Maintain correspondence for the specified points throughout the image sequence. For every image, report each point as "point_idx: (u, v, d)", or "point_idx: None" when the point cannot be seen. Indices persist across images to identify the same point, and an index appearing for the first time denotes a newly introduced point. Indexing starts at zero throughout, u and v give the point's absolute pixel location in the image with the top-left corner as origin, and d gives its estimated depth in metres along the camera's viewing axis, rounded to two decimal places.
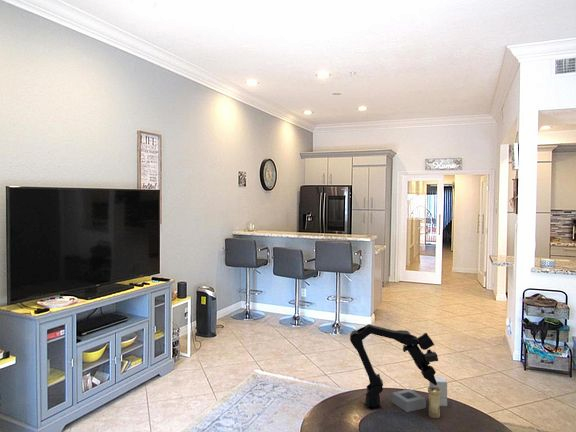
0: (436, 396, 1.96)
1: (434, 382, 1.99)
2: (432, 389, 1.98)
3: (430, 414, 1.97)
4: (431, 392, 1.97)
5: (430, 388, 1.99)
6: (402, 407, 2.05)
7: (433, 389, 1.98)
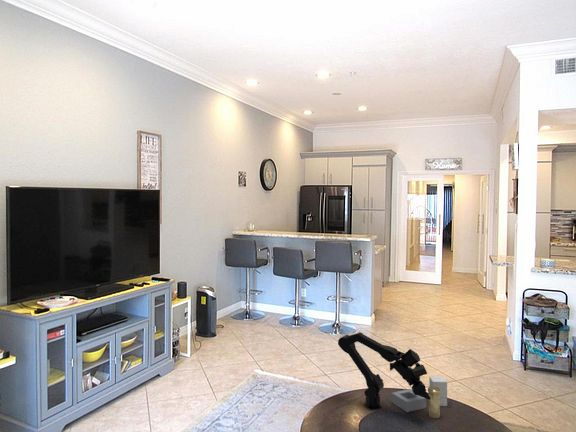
0: (436, 396, 1.96)
1: (427, 396, 1.94)
2: (432, 389, 1.98)
3: (430, 414, 1.97)
4: (431, 392, 1.97)
5: (430, 388, 1.99)
6: (402, 407, 2.05)
7: (433, 389, 1.98)
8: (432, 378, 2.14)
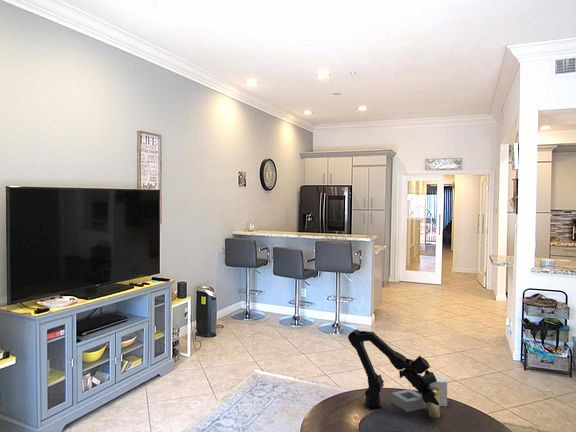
0: (436, 396, 1.96)
1: (436, 402, 1.95)
2: (432, 389, 1.98)
3: (430, 414, 1.97)
4: None
5: (430, 388, 1.99)
6: (402, 407, 2.05)
7: (433, 389, 1.98)
8: None
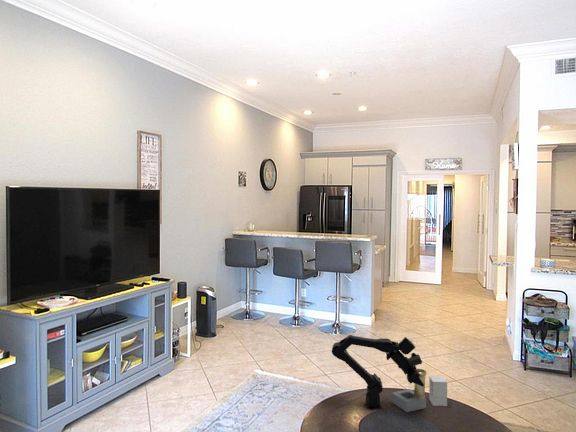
0: (421, 377, 2.02)
1: (421, 384, 2.01)
2: (418, 371, 2.04)
3: (415, 395, 2.03)
4: None
5: None
6: (402, 407, 2.05)
7: (419, 371, 2.04)
8: (432, 378, 2.14)
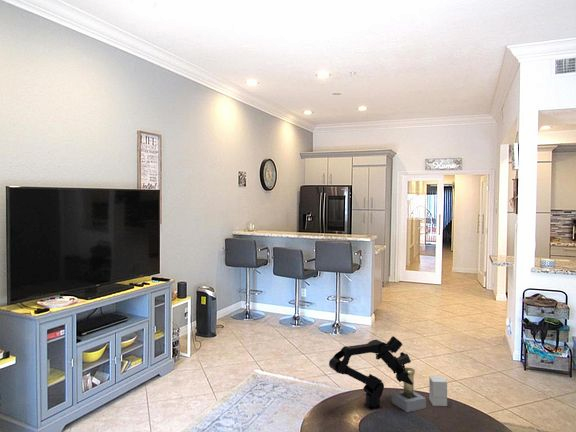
0: (410, 376, 2.07)
1: (409, 382, 2.06)
2: (407, 370, 2.09)
3: (404, 393, 2.09)
4: None
5: (405, 369, 2.10)
6: (402, 407, 2.05)
7: (407, 370, 2.09)
8: (432, 378, 2.14)
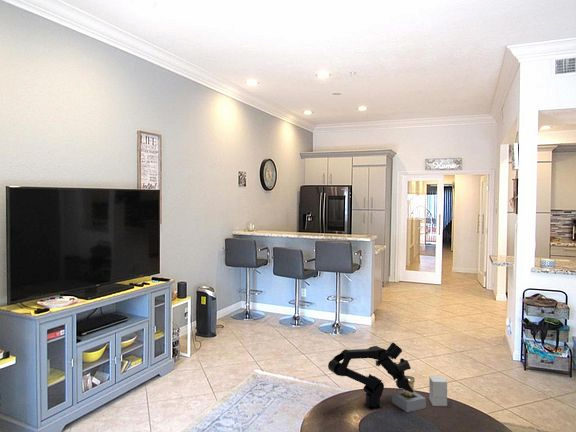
0: (409, 384, 2.07)
1: (410, 390, 2.05)
2: None
3: None
4: None
5: None
6: (402, 407, 2.05)
7: None
8: (432, 378, 2.14)
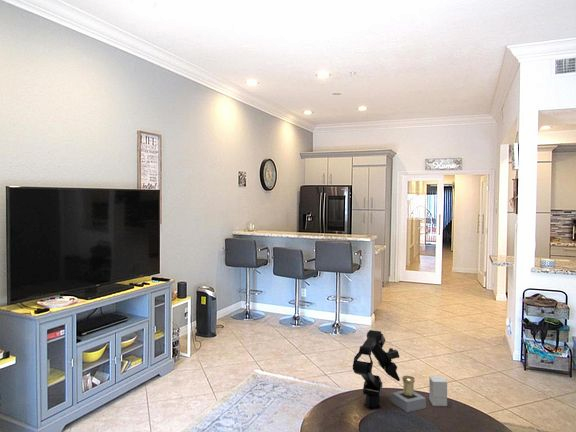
0: (409, 384, 2.07)
1: (397, 378, 2.06)
2: (406, 378, 2.09)
3: None
4: (405, 381, 2.08)
5: (404, 377, 2.10)
6: (402, 407, 2.05)
7: (407, 378, 2.09)
8: (432, 378, 2.14)
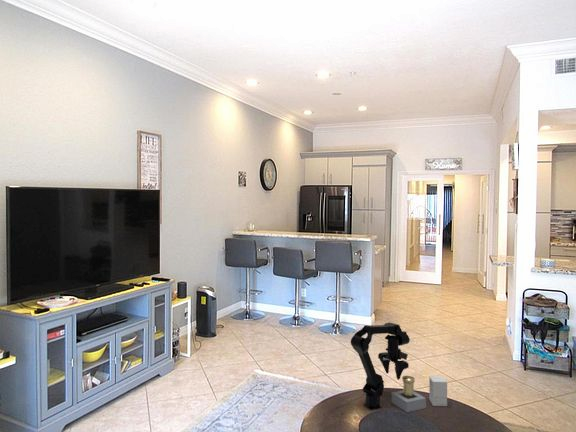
0: (409, 384, 2.07)
1: (399, 376, 2.12)
2: (406, 378, 2.09)
3: None
4: (405, 381, 2.08)
5: (404, 377, 2.10)
6: (402, 407, 2.05)
7: (407, 378, 2.09)
8: (432, 378, 2.14)
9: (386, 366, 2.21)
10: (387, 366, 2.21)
